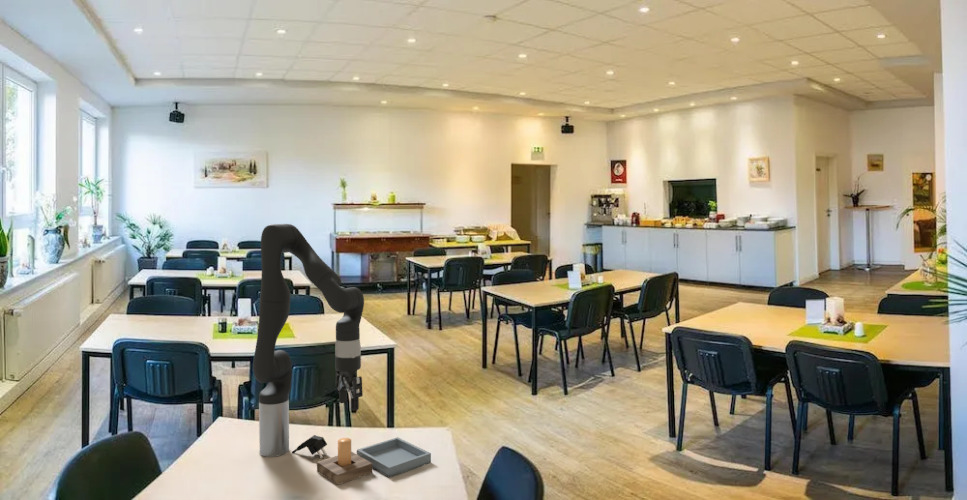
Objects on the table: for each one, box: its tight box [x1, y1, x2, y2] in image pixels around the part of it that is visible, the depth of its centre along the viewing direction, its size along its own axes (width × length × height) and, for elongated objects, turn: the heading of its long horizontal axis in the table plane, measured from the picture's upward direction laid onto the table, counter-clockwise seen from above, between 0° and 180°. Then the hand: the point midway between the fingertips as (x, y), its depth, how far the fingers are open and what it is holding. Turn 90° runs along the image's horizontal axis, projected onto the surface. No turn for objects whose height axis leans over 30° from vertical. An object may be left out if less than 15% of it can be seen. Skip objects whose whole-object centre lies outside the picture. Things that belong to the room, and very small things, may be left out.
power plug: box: [291, 434, 328, 459], centre depth 198 cm, size 6×8×12 cm
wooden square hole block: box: [316, 451, 373, 486], centre depth 185 cm, size 12×12×3 cm
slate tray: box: [356, 436, 432, 478], centre depth 194 cm, size 18×16×3 cm
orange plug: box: [337, 437, 352, 468], centre depth 185 cm, size 4×4×10 cm
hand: (348, 406), depth 185 cm, fingers open, 8 cm apart
